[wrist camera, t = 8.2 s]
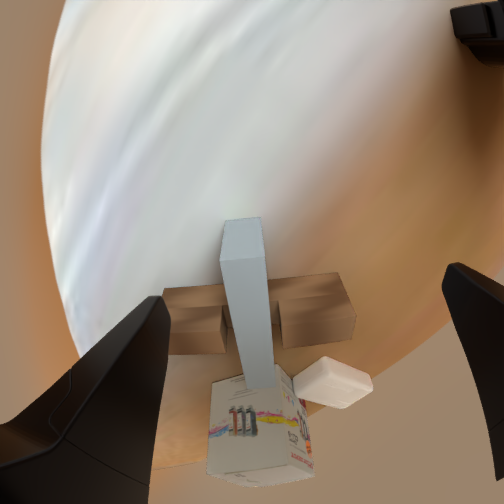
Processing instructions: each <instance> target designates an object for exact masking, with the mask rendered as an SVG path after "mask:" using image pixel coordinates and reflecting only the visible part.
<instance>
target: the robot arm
mask: <svg viewBox="0 0 504 504" xmlns="http://www.w3.org/2000/svg"><path fill="white" fill-rule="evenodd" d="M450 12H451V16H452V22H453V27H454V33H455V36H456V38H458V39H460V41H461V43H462V44H464V45H467V46H468V47H469V49H470V51H471V52H472V53H473V55H474V56H475V57H476V58H477V59H478V60H479V61H480V62H481V63H482V64H484V65H486V66H489V67H498V68H504V0H498V1H492V2H484V3H482V2H481V3H475V4H470V5H464V6H460V7H455V8H452V9H451V10H450ZM442 292H443V294H444V297H445V300H446V302H447V305H448V308H449V311H450V314H451V317H452V320H453V323H454V326H455V329H456V331H457V334H458V336H459V339H460V341H461V344H462V346H463V349H464V352H465V354H466V357H467V360H468V362H469V365H470V368H471V371H472V374H473V377H474V380H475V383H476V386H477V390H478V393H479V397H480V400H481V404H482V407H483V411H484V415H485V419H486V423H487V428H488V431H489V432H488V433H489V438H490V443H491V449H492V454H493V461H494V468H495V477H496V480H497V481H498V480H500V479H502V478H504V286H503V285H501V284H499V283H497V282H496V281H494V280H492V279H490V278H488V277H487V276H485V275H483V274H481V273H479V272H477V271H475V270H473V269H471V268H470V267H468V266H466V265H464V264H462V263H460V262H456V263H450V264H449V265H448V266H447V269H446V272H445V275H444V279H443V282H442ZM170 329H171V317H170V314H169V311H168V309H167V306H166V304H165V301H164V299H163V298H162V296H149V297H147V298H146V299H145V300H144V301H142V302H141V303H140V304H139V305H138V306H137V307H136V308H135V309H134V310H132V311H131V312H130V313H129V314H128V315H127V316H126V317H125V318H124V319H123V320H121V321H120V322H119V323H118V324H117V325H116V326H115V327H114V328H113V329H112V330H110V331H109V332H108V333H107V334H106V335H105V336H104V337H103V338H102V339H101V340H100V341H99V342H98V343H96V344H95V345H94V346H93V347H92V348H91V349H90V350H89V351H88V352H87V353H86V354H85V355H84V356H83V357H82V358H81V359H79V361H77V362H76V363H75V364H74V365H73V366H72V368H71V369H69V370H68V371H67V372H66V373H65V374H64V375H63V376H62V377H61V378H60V379H59V380H58V381H56V382H55V383H54V384H53V385H52V386H51V387H50V388H49V389H48V390H47V391H45V392H44V393H43V394H42V395H41V396H40V397H39V398H37V399H36V400H35V401H34V402H33V403H31V404H30V405H29V406H28V407H27V408H26V409H24V410H23V411H22V412H21V413H19V415H17V416H16V417H15V418H13V419H12V420H10V421H9V422H7V423H4V424H0V504H148V495H149V484H150V475H151V467H152V459H153V451H154V444H155V437H156V430H157V423H158V417H159V411H160V405H161V399H162V393H163V387H164V382H165V376H166V371H167V364H168V352H169V340H170Z"/></svg>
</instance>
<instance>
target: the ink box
mask: <svg viewBox="0 0 504 504" xmlns="http://www.w3.org/2000/svg"><path fill="white" fill-rule="evenodd" d="M274 368H275V381H276V387H271V388H258V389H247V385H246V381H245V377H244V374H243V375H239V376H236V377H232V378H229V379H225V380H222V381H219V382H215V383H212V392H211V407H210V422H209V438H208V454H207V472H206V474H207V475H210V476H213V477H216V478H219V479H222V480H225V481H228V482H231V483H234V484H237V485H241V486H244V487H254V486H257V487H265V486H272V485H277V484H282V483H287V482H293V481H297V480H302V479H306V478H310V477H314V476H315V472H314V465H313V457H312V451H311V443H310V435H309V428H308V420H307V413H306V406H305V400H304V399H300V398H297V397H296V396H295V395H294V390H293V382H292V380H291V379H290V378H289V377H288V375H287V374H286V373H285V372H284V371H283V370H282V368H281V367H280V366H279V365H278V364H275V365H274Z"/></svg>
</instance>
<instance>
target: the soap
mask: <svg viewBox="0 0 504 504" xmlns="http://www.w3.org/2000/svg"><path fill="white" fill-rule="evenodd" d="M292 382H293V390H294V395H295V396H296V397H297V398H300V399H304V400H308V401H311V402H315V403H318V404H322V405H326V406H330V407H335V408H338V409H345V408H347V407H349V406H350V405H352V404H353V403H354V402H356V401H358V400H359V399H361V398H363V397H364V396H366V395H367V394H369V393H371V392H372V391H373V384H372V381H371V378H370V376H369V374H368V373H365V372H363V371H361V370H358V369H356V368H353V367H351V366H348V365H346V364H344V363H341V362H339V361H337V360H334V359H332V358H330V357H327V356H323V357H321V358H320V359H318V360H317V361H316V362H314V363H313V364H311V365H310V366H309V367H307V368H306V369H304V370H303V371H301V372H300V373H299V374H297V375H296V376H294V377H293V380H292Z"/></svg>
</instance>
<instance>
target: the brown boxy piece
mask: <svg viewBox="0 0 504 504" xmlns="http://www.w3.org/2000/svg"><path fill="white" fill-rule="evenodd" d="M267 285H268V296H269V308H270V319H271V325H272V324H280V330H281V338H282V346H283V349H286V348H295V347H303V346H311V345H318V344H325V343H332V342H339V341H345V340H351V339H352V335H353V330H354V325H355V321H356V314H355V311H354V309H353V307H352V304H351V302H350V299H349V297H348V295H347V292H346V290H345V288H344V286H343V283H342V281H341V279H340V276H339V274H338V273H329V274H320V275H311V276H302V277H292V278H283V279H273V280H267ZM162 298H163V299H164V301H165V304H166V306H167V309H168V311H169V314H170V317H171V329H170V340H169V352H168V355H188V354H220V353H226V345H227V329H228V328H233V324H232V319H231V315H230V310H229V305H228V301H227V296H226V291H225V286H224V284H217V285H205V286H192V287H179V288H165V289H164V292H163V294H162Z"/></svg>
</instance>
